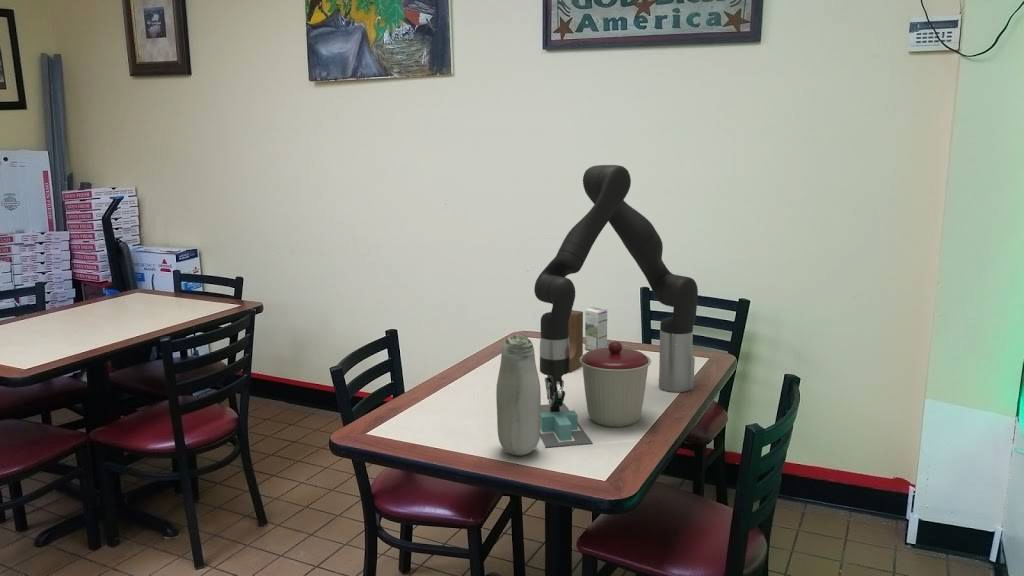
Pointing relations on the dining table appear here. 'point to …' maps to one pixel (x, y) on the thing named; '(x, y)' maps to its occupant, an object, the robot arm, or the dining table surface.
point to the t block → (559, 423)
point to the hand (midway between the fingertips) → (554, 419)
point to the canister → (614, 384)
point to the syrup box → (595, 328)
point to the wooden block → (575, 339)
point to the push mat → (577, 439)
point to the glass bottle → (518, 397)
